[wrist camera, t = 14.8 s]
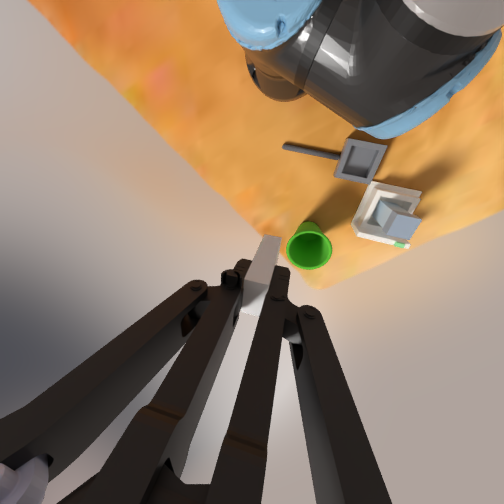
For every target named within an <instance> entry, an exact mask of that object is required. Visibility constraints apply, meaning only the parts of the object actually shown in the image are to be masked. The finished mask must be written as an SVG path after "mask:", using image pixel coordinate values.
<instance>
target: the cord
mask: <svg viewBox="0 0 504 504" xmlns="http://www.w3.org/2000/svg"><path fill="white" fill-rule="evenodd" d="M282 148H283V149H285V150H290V151H295V152H300V153H305V154H309V155H314V156H319V157H324V158H329V159H334V160H339V159H340V155H337V154H332V153H327V152H322V151H317V150H312V149H307V148H302V147H297V146H292V145H287V144H283V146H282Z"/></svg>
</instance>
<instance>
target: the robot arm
mask: <svg viewBox="0 0 504 504" xmlns="http://www.w3.org/2000/svg"><path fill="white" fill-rule="evenodd" d="M217 3H218V6H219V9H220V11H221V14H222V16H223V18H224V21H225V24H226V25H227V28H228V30H229V31H230V33H231V35H232V37H233V38H235V39H236V41H237V42H238V43H239V44H240V45H241V46H242V48H243V49H244V51H245V57H246V63H247V67H248V70H249V73H250V76H251V78H252V80H253V82H254V83H255V85H256V86H257V87H258V88H259V89H260V91H261V92H262V93H263V94H265V95H266V96H267V97H269V98H271V99H273V100H276V101H281V102H288V101H293V100H296V99H299V98H301V97H303V96H304V95H306V94H308V95H310V96H311V97H313V98H314V99H316V100H317V101H319V102H320V103H321V104H323V105H324V106H326V107H327V108H329V109H330V110H332V111H333V112H334V113H336V114H337V115H339V116H340V117H342V118H343V119H345V120H346V121H348V122H349V123H350V124H352V125H353V126H354V128H357V129H358V130H362V131H365V132H366V133H368V134H370V135H372V136H373V137H375V138H378V139H390V138H394V137H397V136H399V135H402V134H404V133H406V132H408V131H410V130H411V129H413V128H415V127H416V126H418V125H419V124H421V123H422V122H424V121H425V120H427V119H428V118H430V117H431V116H432V115H434V114H435V113H436V112H437V111H439V110H440V109H441V108H442V107H444V106H445V105H446V104H447V103H448V102H449V101H450V98H451V97H452V96H453V95H454V94H455V93H457V92H458V91H460V90H462V89H463V88H465V87H466V86H467V84H468V83H469V82H470V81H471V80H472V79H473V78H474V77H475V76H476V75H477V74H478V73H479V72H480V71H481V70H482V68H483V67H484V66H485V65H486V64H487V62H488V61H489V60H490V58H491V57H492V55H493V54H494V52H495V51H496V49H497V47H498V44H499V42H500V39H501V37H502V33H501V27H502V26H503V25H504V0H217ZM281 239H282V238H281V237H276V236H271V235H264V237H263V239H262V241H261V243H260V246H259V248H258V250H257V252H256V254H255V256H254V259H253V261H251V260H247V259H241V260H239V261H238V262H237V264H236V265H235V267H234V269H229V270H225V271H223V272H222V273H221V285H220V286H207V283H206V282H204V281H202V280H193V281H190V282H188V283H187V284H185V285H184V286H183V287H182V288H180V289H179V290H178V291H176V292H175V293H174V294H172V295H171V296H170V297H168V298H167V299H166V300H164V301H163V302H162V303H160V304H159V305H158V306H156V307H155V308H154V309H153V310H151V311H150V312H149V313H147V314H146V315H145V316H144V317H142V318H141V319H139V320H138V321H137V322H135V323H134V324H133V325H131V326H130V327H129V328H127V329H126V330H125V331H124V332H122V333H121V334H120V335H118V336H117V337H116V338H114V339H113V340H112V341H110V342H109V343H108V344H107V345H105V346H104V347H103V348H101V349H100V350H98V351H97V352H96V353H95V354H93V355H92V356H91V357H89V358H88V359H87V360H85V361H84V362H83V363H81V364H80V365H79V366H78V367H76V368H75V369H73V370H72V371H71V372H70V373H68V374H67V375H66V376H64V377H63V378H62V379H60V380H59V381H58V382H56V383H55V384H54V385H53V386H51V387H50V388H48V389H47V390H46V391H45V392H43V393H42V394H41V395H39V396H38V397H37V398H35V399H34V400H33V401H31V402H30V403H29V404H27V405H26V406H24V407H23V408H21V409H19V410H17V411H15V412H13V413H11V414H9V415H7V416H6V417H4V418H2V419H0V504H41V503H42V501H43V499H44V495H45V490H46V487H47V485H48V483H49V482H50V481H51V480H52V479H54V478H55V477H56V476H57V475H59V474H60V473H61V472H62V471H63V470H64V469H66V468H67V467H68V466H69V465H70V464H71V463H72V462H74V461H75V460H76V459H77V458H78V457H79V456H80V455H81V454H82V453H83V452H84V451H85V450H86V449H87V448H88V447H89V446H90V445H91V444H92V443H93V442H94V441H95V440H96V438H97V437H98V436H99V435H100V434H101V433H102V432H103V431H104V430H105V429H106V428H107V427H108V426H109V425H110V424H111V422H112V421H113V420H114V419H115V418H116V417H117V416H118V415H119V414H120V413H121V412H122V410H123V409H124V408H125V407H126V406H127V405H128V404H129V403H130V402H131V401H132V400H133V399H134V398H135V397H136V396H137V394H138V393H139V392H140V391H141V390H142V389H143V388H144V387H145V386H146V385H147V384H148V383H149V382H150V381H151V379H152V378H153V377H154V376H155V375H156V374H157V373H158V372H159V371H160V370H161V369H162V368H163V367H164V365H165V364H166V363H167V362H168V361H169V360H170V359H171V358H172V357H173V356H174V355H175V354H176V353H177V352H178V350H179V349H180V348H181V347H182V346H183V345H184V344H185V343H186V344H185V345H184V347H183V349H182V351H181V352H180V354H179V355H178V357H177V359H176V361H175V362H174V364H173V365H172V367H171V369H170V370H169V372H168V374H167V375H166V377H165V379H164V381H163V382H162V384H161V386H160V387H159V389H158V391H157V392H156V394H155V396H154V397H153V399H152V401H151V402H150V403H149V404H148V405H146V406H144V407H142V408H141V409H140V410H139V411H138V412H137V413H136V415H135V416H134V418H133V419H132V421H131V422H130V424H129V425H128V427H127V429H126V430H125V432H124V433H123V435H122V437H121V438H120V440H119V441H118V443H117V445H116V447H115V448H114V449H113V451H112V453H111V454H110V456H109V458H108V459H107V461H106V462H105V464H104V466H103V467H102V469H101V470H100V472H98V473H97V474H96V475H94V476H93V477H91V478H90V479H89V480H87V481H86V482H85V483H83V484H82V485H81V486H79V487H78V488H77V489H76V490H74V491H73V492H71V493H70V494H69V495H68V496H66V497H65V498H63V499H62V500H61V501H59V502H58V503H57V504H261V499H262V492H263V485H264V477H265V470H266V462H267V443H268V436H269V429H270V422H271V415H272V407H273V400H274V393H275V385H276V379H277V371H278V364H279V357H280V349H281V342H282V337H283V338H285V339H287V340H288V341H289V345H290V351H291V357H292V363H293V368H294V374H295V380H296V386H297V392H298V397H299V404H300V410H301V416H302V421H303V427H304V433H305V439H306V445H307V451H308V456H309V462H310V468H311V474H312V480H313V486H314V492H315V497H316V503H317V504H392V502H391V499H390V497H389V494H388V491H387V488H386V486H385V483H384V481H383V478H382V475H381V472H380V470H379V468H378V464H377V462H376V459H375V456H374V454H373V451H372V449H371V446H370V443H369V440H368V438H367V435H366V432H365V430H364V427H363V424H362V422H361V419H360V416H359V414H358V411H357V408H356V406H355V403H354V400H353V397H352V395H351V392H350V390H349V387H348V384H347V381H346V379H345V376H344V373H343V371H342V368H341V365H340V363H339V360H338V357H337V355H336V352H335V349H334V347H333V344H332V341H331V339H330V336H329V333H328V331H327V328H326V326H325V323H324V320H323V317H322V315H321V313H320V311H319V310H317V309H316V308H315V307H313V306H309V305H303V306H301V307H297V306H295V305H294V304H292V303H291V302H290V301H289V299H288V297H287V294H288V286H289V279H290V271H289V269H288V268H286V267H281V266H277V260H278V255H279V250H280V244H281ZM240 309H241V312H243V313H247V314H251V315H255V316H259V320H258V324H257V327H256V331H255V334H254V338H253V341H252V345H251V348H250V352H249V355H248V359H247V363H246V366H245V370H244V373H243V377H242V380H241V384H240V388H239V391H238V395H237V398H236V402H235V405H234V409H233V413H232V416H231V420H230V423H229V427H228V430H227V433H226V435H225V437H224V440H223V443H222V446H221V449H220V453H219V456H218V460H217V463H216V467H215V470H214V474H213V477H212V481H211V484H185V483H183V482H182V481H181V480H180V477H181V474H182V472H183V469H184V466H185V463H186V459H187V455H188V451H189V447H190V444H191V441H192V438H193V436H194V433H195V430H196V428H197V425H198V423H199V420H200V417H201V415H202V412H203V410H204V407H205V404H206V402H207V399H208V396H209V394H210V391H211V389H212V386H213V383H214V381H215V378H216V376H217V373H218V371H219V368H220V365H221V363H222V360H223V358H224V355H225V352H226V350H227V347H228V345H229V342H230V340H231V337H232V334H233V332H234V329H235V327H236V324H237V321H238V319H239V312H240Z"/></svg>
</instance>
